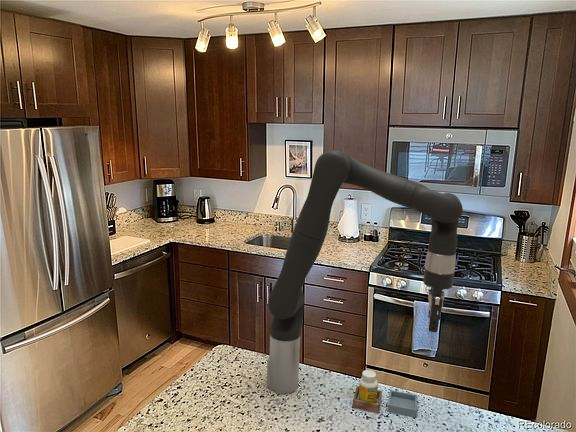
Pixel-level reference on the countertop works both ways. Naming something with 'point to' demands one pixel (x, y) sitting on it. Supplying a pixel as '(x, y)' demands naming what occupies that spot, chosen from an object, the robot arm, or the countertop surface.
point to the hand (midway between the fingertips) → (432, 324)
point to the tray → (402, 403)
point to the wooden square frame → (367, 405)
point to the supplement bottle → (368, 387)
